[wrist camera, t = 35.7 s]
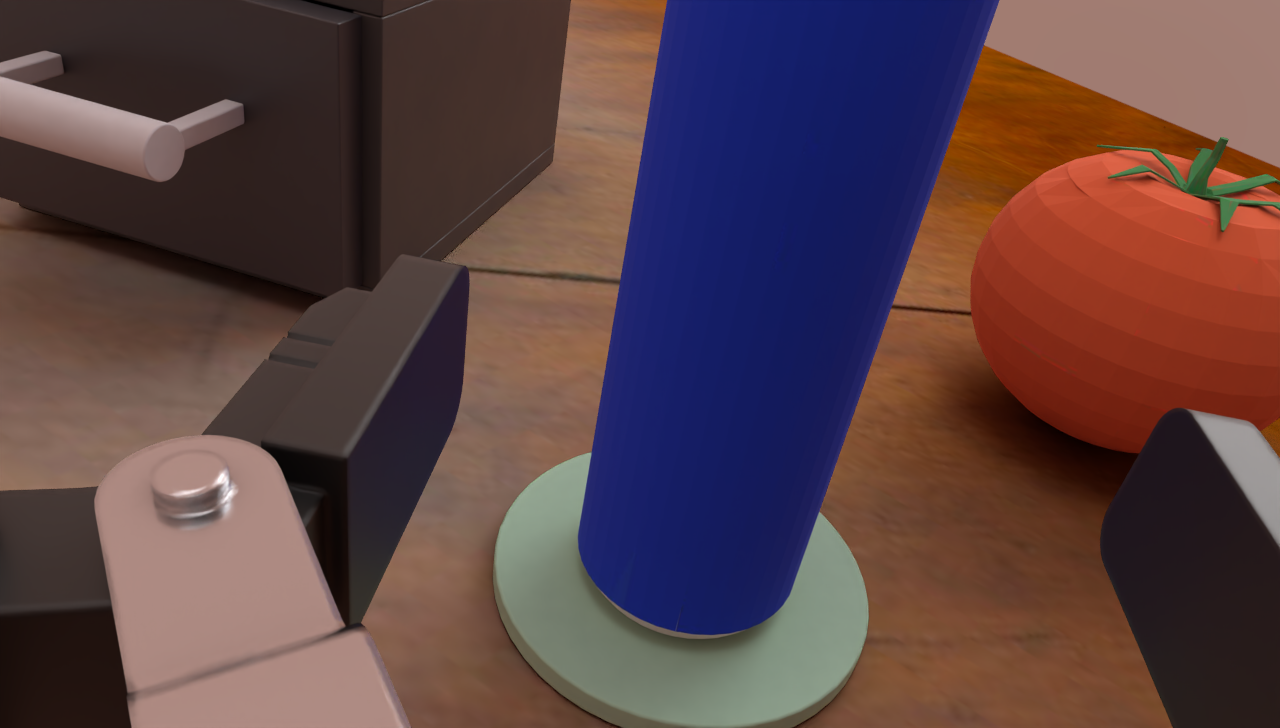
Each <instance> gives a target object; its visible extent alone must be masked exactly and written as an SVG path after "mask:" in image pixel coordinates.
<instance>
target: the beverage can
mask: <svg viewBox="0 0 1280 728" xmlns="http://www.w3.org/2000/svg"><path fill="white" fill-rule="evenodd" d="M998 3H999V0H667V5H666V11H665V17H664V23H663V29H662V35H661V41H660V47H659V53H658V59H657V65H656V71H655V77H654V83H653V89H652V95H651V101H650V107H649V113H648V119H647V125H646V131H645V137H644V143H643V149H642V155H641V161H640V167H639V173H638V179H637V185H636V191H635V196H634V202H633V208H632V214H631V220H630V226H629V232H628V238H627V244H626V250H625V256H624V262H623V268H622V274H621V280H620V286H619V292H618V298H617V304H616V310H615V316H614V322H613V328H612V334H611V340H610V346H609V352H608V358H607V364H606V370H605V376H604V382H603V388H602V394H601V400H600V406H599V411H598V417H597V423H596V429H595V435H594V441H593V447H592V453H591V459H590V465H589V471H588V477H587V483H586V489H585V495H584V501H583V507H582V513H581V519H580V525H579V531H578V549H579V553H580V556H581V560H582V563H583V565H584V567H585V569H586V571H587V573H588V575H589V576H590V578H591V579H592V580H593V582H594V583H595V585H596V586H597V587H598V589H599V590H600V591H601V592H602V594H603V595H604V596H605V597H606V598H607V599H608V600H609V601H610V602H611V603H612V604H613V605H614V606H615V607H616V608H617V609H618V610H619V611H620V612H622V613H623V614H624V615H626V616H627V617H628V618H630V619H632V620H633V621H635V622H637V623H638V624H640V625H642V626H644V627H647V628H649V629H651V630H654V631H656V632H659V633H663V634H666V635H670V636H674V637H680V638H687V639H710V638H719V637H723V636H727V635H732V634H735V633H738V632H741V631H744V630H746V629H749V628H751V627H753V626H756V625H758V624H761V623H762V622H764V621H765V620H767V619H768V618H770V617H771V616H773V615H774V614H775V613H776V612H777V611H778V610H779V609H780V608H781V607H782V606H783V605H784V603H785V602H786V600H787V598H788V597H789V595H790V593H791V590H792V587H793V585H794V582H795V579H796V576H797V573H798V570H799V568H800V565H801V562H802V559H803V556H804V553H805V551H806V548H807V545H808V542H809V539H810V536H811V533H812V531H813V528H814V525H815V522H816V519H817V516H818V514H819V511H820V508H821V505H822V502H823V499H824V497H825V494H826V491H827V488H828V485H829V482H830V480H831V477H832V474H833V471H834V468H835V465H836V463H837V460H838V457H839V454H840V451H841V448H842V446H843V443H844V440H845V437H846V434H847V431H848V428H849V426H850V423H851V420H852V417H853V414H854V411H855V409H856V406H857V403H858V400H859V397H860V394H861V392H862V389H863V386H864V383H865V380H866V377H867V375H868V372H869V369H870V366H871V363H872V360H873V358H874V355H875V352H876V349H877V346H878V343H879V340H880V338H881V335H882V332H883V329H884V326H885V323H886V321H887V318H888V315H889V312H890V309H891V306H892V304H893V301H894V298H895V295H896V292H897V289H898V287H899V284H900V281H901V278H902V275H903V272H904V270H905V267H906V264H907V261H908V258H909V255H910V253H911V250H912V247H913V244H914V241H915V238H916V235H917V233H918V230H919V227H920V224H921V221H922V218H923V216H924V213H925V210H926V207H927V204H928V201H929V199H930V196H931V193H932V190H933V187H934V184H935V182H936V179H937V176H938V173H939V170H940V167H941V165H942V162H943V159H944V156H945V153H946V150H947V148H948V145H949V142H950V139H951V136H952V133H953V130H954V128H955V125H956V122H957V119H958V116H959V113H960V111H961V108H962V105H963V102H964V99H965V96H966V94H967V91H968V88H969V85H970V82H971V79H972V77H973V74H974V71H975V68H976V65H977V62H978V60H979V57H980V54H981V51H982V48H983V45H984V43H985V40H986V37H987V33H988V31H989V28H990V25H991V23H992V20H993V17H994V14H995V11H996V8H997V6H998Z"/></svg>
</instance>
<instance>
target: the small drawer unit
mask: <svg viewBox="0 0 1280 728" xmlns="http://www.w3.org/2000/svg"><path fill="white" fill-rule="evenodd" d="M314 1H318V2H322V3H326V4H330V5H334V6H338V7H342V8H346V9H350V10H355V11H354V12H353V13H354V14H358V15H361V55H362V285H361V286H360V287H358V288H357V289H359V290H364V291H369V292H372V291H373V290H374V288H375V287H376V286H377V284H378V283H379V282H380V280H381V279H382V278H383V276H384V275H385V274H386V272H387V271H388V270H389V268H390V267H391V266H392V264H393V263H394V262H395V260H396V259H397V258H398V257H399V256H400V255H402V254H405V255H410V256H415V257H420V258H426V259H431V260H436V261H441V260H442V259H443V258H444V257H445V256H446V255H447V254H449V253H450V252H451V251H452V250H453V249H454V248H455V247H456V246H458V245H459V244H460V243H461V242H462V241H463V240H464V239H465V238H467V237H468V236H469V235H470V234H471V233H472V232H473V231H475V230H476V229H477V228H478V227H479V226H480V225H481V224H482V223H484V222H485V221H486V220H487V219H488V218H489V217H490V216H492V215H493V214H494V213H495V212H496V211H497V210H498V209H499V208H501V207H502V206H503V205H504V204H505V203H506V202H507V201H508V200H510V199H511V198H512V197H513V196H514V195H515V194H516V193H518V192H519V191H520V190H521V189H522V188H523V187H524V186H525V185H527V184H528V183H529V182H530V181H531V180H532V179H533V178H534V177H536V176H537V175H538V174H539V173H540V172H541V171H542V170H544V169H545V168H546V167H547V166H548V165H549V164H550V163H551V162H552V161H553V153H554V143H555V135H556V126H557V117H558V108H559V100H560V91H561V82H562V73H563V64H564V56H565V47H566V38H567V29H568V20H569V11H570V3H571V0H314ZM19 205H20V206H22V207H25V208H28V209H32V210H35V211H38V212H42V213H45V214H48V215H52V216H55V217H58V218H62V219H65V220H68V221H71V222H75V223H78V224H81V225H85V226H88V227H91V228H95V229H98V230H101V231H105V232H108V233H111V234H115V235H118V236H121V237H124V238H128V239H131V240H134V241H138V242H141V243H144V244H148V245H151V246H154V247H158V248H161V249H164V250H168V251H171V252H174V253H177V254H181V255H184V256H187V257H191V258H194V259H197V260H201V261H204V262H207V263H211V264H214V265H217V266H221V267H224V268H227V269H230V270H234V271H237V272H240V273H244V274H247V275H250V276H254V277H257V278H260V279H264V280H267V281H270V282H274V283H277V284H280V285H283V286H287V287H290V288H293V289H297V290H300V291H303V292H307V293H310V294H313V295H317V296H320V297H323V298H327V297H329V296H326V295H323V294H320V293H316V292H313V291H310V290H306V289H303V288H300V287H297V286H293V285H290V284H287V283H283V282H280V281H277V280H273V279H270V278H267V277H263V276H260V275H257V274H253V273H250V272H247V271H243V270H240V269H237V268H233V267H230V266H227V265H224V264H220V263H217V262H214V261H210V260H207V259H204V258H200V257H197V256H194V255H190V254H187V253H184V252H180V251H177V250H174V249H170V248H167V247H164V246H160V245H157V244H154V243H151V242H147V241H144V240H141V239H137V238H134V237H131V236H127V235H124V234H121V233H117V232H114V231H111V230H107V229H104V228H101V227H97V226H94V225H91V224H87V223H84V222H81V221H77V220H74V219H71V218H68V217H64V216H61V215H58V214H54V213H51V212H48V211H44V210H41V209H38V208H34V207H31V206H28V205H24V204H21V203H19Z"/></svg>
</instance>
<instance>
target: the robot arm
mask: <svg viewBox="0 0 1280 728" xmlns="http://www.w3.org/2000/svg"><path fill="white" fill-rule="evenodd" d="M468 301H469V272H468V269H467V267H466V266H461V265H456V264H451V263H446V262H441V261H436V260H431V259H426V258H420V257H415V256H410V255H405V254H402V255H400V256H399V257H398V258H397V259H396V260H395V262H394V263H393V264H392V266H391V267H390V268H389V270H388V271H387V272H386V274H385V275H384V276H383V278H382V279H381V280H380V282H379V283H378V284H377V286H376V287H375V288H374V290H373V291H372V292H369V291H364V290H359V289H354V288H349V287H346V288H344V289H342V290H340V291H338V292H337V293H335V294H333V295H331V296H329V297H327V298H325V299H323V300H321V301H319V302H317V303H315V304H313V305H311V306H310V307H309V308H308V309H307V310H306V311H305V312H304V314H303V315H302V316H301V317H300V318H299V320H298V321H297V322H296V323H295V324H294V326H293V327H292V328H291V329H290V330H289V331H288V336H287V338H285V337H283V339H282V340H281V341H280V342H279V343H278V345H277V346H276V347H275V348H274V349H273V350H272V352H271V353H270V357H269V360H266V359H265V360H264V361H263V362H262V363H261V365H260V366H259V367H258V368H257V369H256V371H255V372H254V373H253V374H252V375H251V377H250V378H249V379H248V380H247V381H246V382H245V384H244V385H243V386H242V387H241V388H240V390H239V391H238V392H237V393H236V394H235V396H234V397H233V398H232V399H231V400H230V401H229V403H228V404H227V405H226V406H225V407H224V409H223V410H222V411H221V412H220V413H219V415H218V416H217V417H216V418H215V419H214V420H213V422H212V423H211V424H210V425H209V426H208V428H207V429H206V430H205V431H204V432H203V434H202V435H195V436H186V437H179V438H174V439H170V440H166V441H162V442H159V443H156V444H153V445H150V446H147V447H145V448H143V449H141V450H139V451H137V452H135V453H133V454H131V455H130V456H128V457H126V458H125V459H123V460H122V461H120V462H119V463H118V464H117V465H116V466H114V467H113V468H112V469H111V470H110V471H109V472H108V473H107V475H106V476H105V477H104V478H103V479H102V481H101V483H100V485H99V486H97V487H86V488H68V489H39V490H9V491H0V728H411V726H410V723H409V721H408V719H407V716H406V714H405V712H404V709H403V707H402V705H401V702H400V700H399V698H398V695H397V693H396V691H395V688H394V686H393V684H392V681H391V679H390V677H389V674H388V672H387V670H386V667H385V665H384V663H383V660H382V658H381V656H380V653H379V651H378V649H377V647H376V645H375V642H374V640H373V639H372V637H371V635H370V633H369V632H368V630H367V629H366V628H365V626H363V625H362V624H361V621H362V619H363V617H364V615H365V613H366V611H367V609H368V607H369V604H370V602H371V600H372V598H373V596H374V594H375V592H376V590H377V588H378V585H379V583H380V581H381V579H382V577H383V575H384V573H385V571H386V568H387V566H388V564H389V562H390V560H391V558H392V556H393V554H394V551H395V549H396V547H397V545H398V543H399V541H400V539H401V537H402V534H403V532H404V530H405V528H406V526H407V524H408V522H409V520H410V518H411V515H412V513H413V511H414V509H415V507H416V505H417V503H418V501H419V498H420V496H421V494H422V492H423V490H424V488H425V486H426V484H427V481H428V479H429V477H430V475H431V473H432V471H433V469H434V467H435V465H436V462H437V460H438V458H439V456H440V454H441V452H442V450H443V448H444V445H445V443H446V441H447V439H448V437H449V435H450V433H451V430H452V428H453V425H454V422H455V419H456V415H457V411H458V407H459V403H460V398H461V392H462V385H463V375H464V360H465V345H466V330H467V315H468ZM1100 548H1101V556H1102V560H1103V563H1104V566H1105V568H1106V571H1107V573H1108V575H1109V578H1110V580H1111V582H1112V585H1113V587H1114V589H1115V592H1116V594H1117V597H1118V599H1119V601H1120V604H1121V606H1122V608H1123V611H1124V613H1125V615H1126V618H1127V620H1128V622H1129V625H1130V627H1131V630H1132V632H1133V634H1134V637H1135V639H1136V641H1137V644H1138V646H1139V648H1140V651H1141V653H1142V655H1143V658H1144V660H1145V663H1146V665H1147V667H1148V670H1149V672H1150V674H1151V677H1152V679H1153V681H1154V684H1155V686H1156V688H1157V691H1158V693H1159V696H1160V698H1161V700H1162V703H1163V705H1164V707H1165V710H1166V712H1167V714H1168V717H1169V719H1170V721H1171V724H1172V726H1173V728H1280V458H1279V457H1278V456H1277V454H1276V453H1275V452H1274V450H1273V449H1272V448H1271V446H1270V445H1269V444H1268V442H1267V441H1266V440H1265V438H1264V437H1263V435H1262V434H1261V433H1260V431H1259V430H1258V429H1257V428H1256V427H1255V426H1254V425H1253V424H1252V423H1250V422H1249V421H1246V420H1241V419H1236V418H1231V417H1226V416H1221V415H1216V414H1211V413H1206V412H1200V411H1195V410H1190V409H1185V408H1174V409H1171V410H1170V411H1168V412H1167V413H1165V414H1164V415H1163V416H1162V417H1161V418H1160V420H1159V421H1158V423H1157V424H1156V426H1155V427H1154V429H1153V431H1152V432H1151V434H1150V436H1149V438H1148V439H1147V441H1146V443H1145V445H1144V446H1143V448H1142V450H1141V452H1140V453H1139V455H1138V457H1137V459H1136V460H1135V462H1134V464H1133V465H1132V467H1131V469H1130V471H1129V472H1128V474H1127V476H1126V478H1125V479H1124V481H1123V483H1122V485H1121V486H1120V488H1119V490H1118V492H1117V493H1116V495H1115V497H1114V499H1113V500H1112V502H1111V504H1110V505H1109V507H1108V509H1107V511H1106V514H1105V517H1104V520H1103V524H1102V529H1101V537H1100Z"/></svg>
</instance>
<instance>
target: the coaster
mask: <svg viewBox="0 0 1280 728" xmlns="http://www.w3.org/2000/svg"><path fill="white" fill-rule="evenodd" d="M591 453H592V452H590V453H586V454H583V455H580V456H577V457H574V458H572V459H570V460H567V461H565V462H563V463H560V464H558V465H557V466H555V467H553V468H552V469H550V470H548V471H546V472H545V473H543V474H542V475H541V476H539V477H538V478H537V479H535V480H534V481H533V482H532V483H530V484H529V485H528V486H527V487H526V488H525V489H524V491H523V492H522V493H521V494H520V495H519V496H518V497H517V498H516V500H515V501H514V503H513V504H512V506H511V507H510V508H509V510H508V511H507V513H506V515H505V517H504V520H503V522H502V524H501V526H500V529H499V533H498V537H497V541H496V545H495V553H494V565H493V585H494V594H495V600H496V603H497V606H498V610H499V613H500V617H501V619H502V621H503V623H504V625H505V628H506V630H507V632H508V634H509V636H510V638H511V640H512V641H513V643H514V644H515V646H516V647H517V649H518V650H519V652H520V653H521V654H522V656H523V657H524V659H525V660H526V661H527V662H528V663H529V664H530V665H531V667H532V668H533V669H534V670H535V671H536V672H537V673H538V674H539V676H540V677H541V678H543V679H544V680H545V681H546V682H547V683H548V684H550V685H551V686H552V687H553V688H554V689H555V690H556V691H558V692H559V693H560V694H561V695H563V696H564V697H566V698H567V699H569V700H570V701H572V702H573V703H575V704H576V705H578V706H579V707H581V708H582V709H584V710H586V711H588V712H590V713H591V714H593V715H595V716H597V717H599V718H601V719H603V720H605V721H607V722H609V723H612V724H614V725H617V726H620V727H622V728H792V727H795V726H796V725H798V724H800V723H801V722H803V721H805V720H807V719H808V718H810V717H812V716H814V715H815V714H816V713H818V712H819V711H820V710H821V709H822V708H824V707H825V706H826V705H827V704H829V703H830V702H831V701H832V700H833V699H834V698H835V696H836V695H837V694H838V693H839V692H840V690H841V689H842V688H843V687H844V686H845V684H846V682H847V681H848V679H849V677H850V675H851V674H852V672H853V670H854V668H855V666H856V664H857V661H858V659H859V657H860V654H861V651H862V648H863V645H864V643H865V640H866V635H867V628H868V621H869V614H868V598H867V594H866V589H865V584H864V580H863V577H862V575H861V572H860V569H859V567H858V564H857V562H856V560H855V558H854V557H853V555H852V553H851V551H850V549H849V547H848V546H847V544H846V543H845V542H844V540H843V539H842V537H841V536H840V535H839V533H838V532H837V530H836V529H835V528H834V527H833V526H832V525H831V524H830V523H829V521H828V520H827V519H826V518H825V517H824V516H823V515H822V514H821V513H820V512H819V514H818V516H817V519H816V522H815V525H814V528H813V531H812V533H811V536H810V539H809V542H808V545H807V548H806V551H805V553H804V556H803V559H802V562H801V565H800V568H799V570H798V573H797V576H796V579H795V582H794V585H793V587H792V590H791V593H790V595H789V597H788V598H787V600H786V602H785V603H784V605H783V606H782V607H781V608H780V609H779V610H778V611H777V612H776V613H775V614H774V615H773V616H771V617H770V618H768V619H767V620H765V621H764V622H762V623H761V624H758V625H756V626H753V627H751V628H749V629H746V630H744V631H741V632H738V633H735V634H732V635H727V636H723V637H719V638H710V639H687V638H680V637H674V636H670V635H666V634H663V633H659V632H656V631H654V630H651V629H649V628H647V627H644V626H642V625H640V624H638V623H637V622H635V621H633V620H632V619H630V618H628V617H627V616H626V615H624V614H623V613H622V612H620V611H619V610H618V609H617V608H616V607H615V606H614V605H613V604H612V603H611V602H610V601H609V600H608V599H607V598H606V597H605V596H604V595H603V594H602V592H601V591H600V590H599V589H598V587H597V586H596V585H595V583H594V582H593V580H592V579H591V578H590V576H589V575H588V573H587V571H586V569H585V567H584V565H583V563H582V560H581V556H580V553H579V549H578V531H579V525H580V519H581V513H582V507H583V501H584V495H585V489H586V483H587V477H588V471H589V465H590V459H591Z"/></svg>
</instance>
